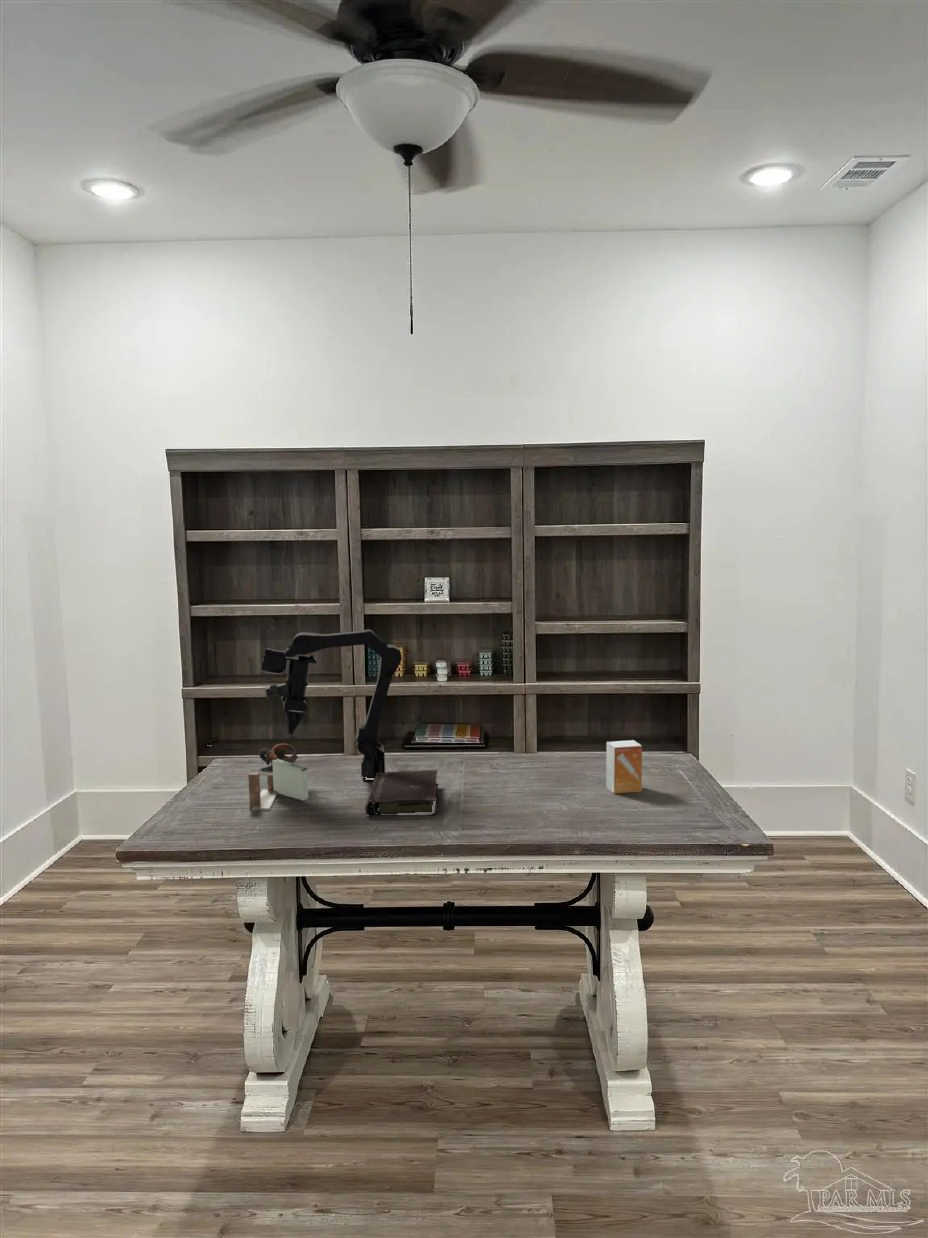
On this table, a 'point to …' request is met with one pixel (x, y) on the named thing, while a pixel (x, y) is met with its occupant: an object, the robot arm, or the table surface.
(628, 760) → the small box
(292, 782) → the pale green flat panel
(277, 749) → the brown looped band
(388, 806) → the diary
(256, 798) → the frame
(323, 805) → the table surface
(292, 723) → the robot arm
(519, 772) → the table surface
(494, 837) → the table surface
